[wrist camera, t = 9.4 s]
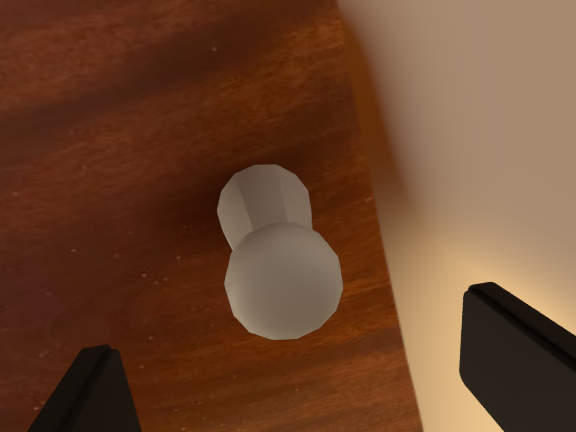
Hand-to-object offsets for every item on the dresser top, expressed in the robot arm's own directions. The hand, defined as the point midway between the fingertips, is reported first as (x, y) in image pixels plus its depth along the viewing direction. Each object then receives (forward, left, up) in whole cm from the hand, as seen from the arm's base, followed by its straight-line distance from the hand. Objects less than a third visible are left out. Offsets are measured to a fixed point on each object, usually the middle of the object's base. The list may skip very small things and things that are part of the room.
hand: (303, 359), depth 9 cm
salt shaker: (0, 0, -16) cm, 16 cm away
